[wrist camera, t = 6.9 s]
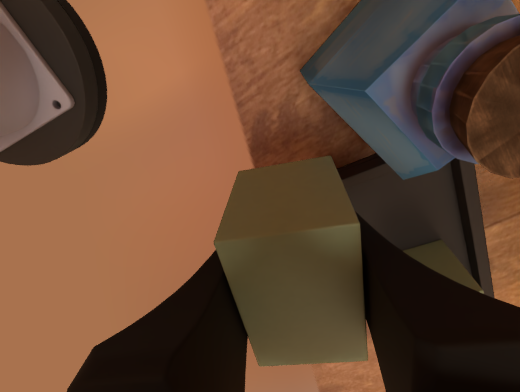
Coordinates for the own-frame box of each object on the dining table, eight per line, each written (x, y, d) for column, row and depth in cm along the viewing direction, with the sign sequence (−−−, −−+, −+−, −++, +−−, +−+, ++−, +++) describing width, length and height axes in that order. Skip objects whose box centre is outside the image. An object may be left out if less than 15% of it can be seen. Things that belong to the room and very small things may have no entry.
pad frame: (379, 313, 26) (386, 331, 24) (321, 174, 20) (324, 186, 18) (482, 289, 24) (496, 306, 22) (453, 122, 17) (470, 130, 16)
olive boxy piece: (265, 272, 15) (258, 367, 10) (238, 170, 12) (212, 242, 8) (342, 263, 14) (368, 361, 10) (331, 154, 11) (360, 223, 7)
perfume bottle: (299, 70, 16) (330, 118, 6) (387, -31, 14) (706, -252, 3) (367, 139, 18) (483, 270, 8) (456, 60, 16) (809, 95, 5)
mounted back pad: (404, 303, 24) (431, 360, 20) (387, 254, 22) (413, 307, 17) (454, 291, 23) (494, 349, 19) (441, 238, 21) (484, 290, 16)
